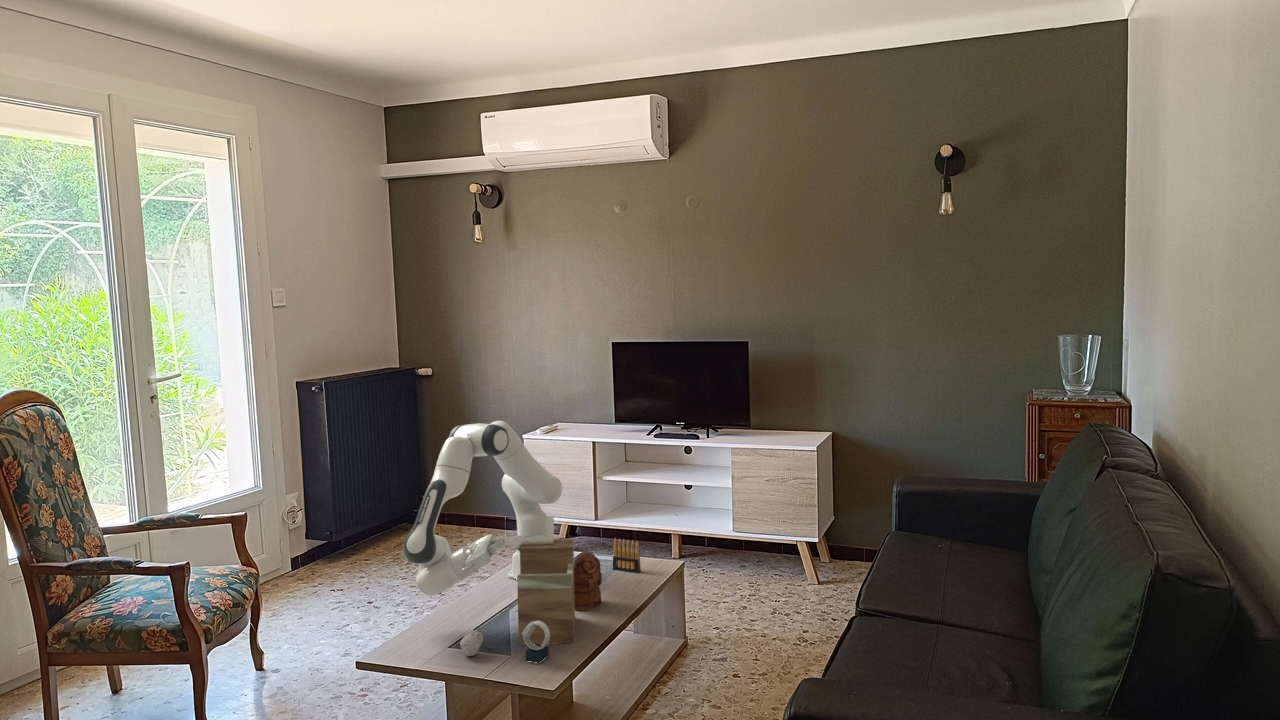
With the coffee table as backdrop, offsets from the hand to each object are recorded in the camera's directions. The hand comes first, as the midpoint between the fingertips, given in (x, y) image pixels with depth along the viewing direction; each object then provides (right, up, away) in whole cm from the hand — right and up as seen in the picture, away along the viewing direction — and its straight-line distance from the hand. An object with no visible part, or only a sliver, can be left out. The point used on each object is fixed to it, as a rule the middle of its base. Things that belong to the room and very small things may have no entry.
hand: (504, 539), depth 273 cm
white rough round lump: (-7, -30, -19) cm, 36 cm away
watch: (+13, -30, -22) cm, 39 cm away
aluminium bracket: (+6, -1, 0) cm, 6 cm away
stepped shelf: (+14, -28, -2) cm, 31 cm away
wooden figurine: (+25, -26, +19) cm, 40 cm away
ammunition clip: (+37, -23, +53) cm, 69 cm away
